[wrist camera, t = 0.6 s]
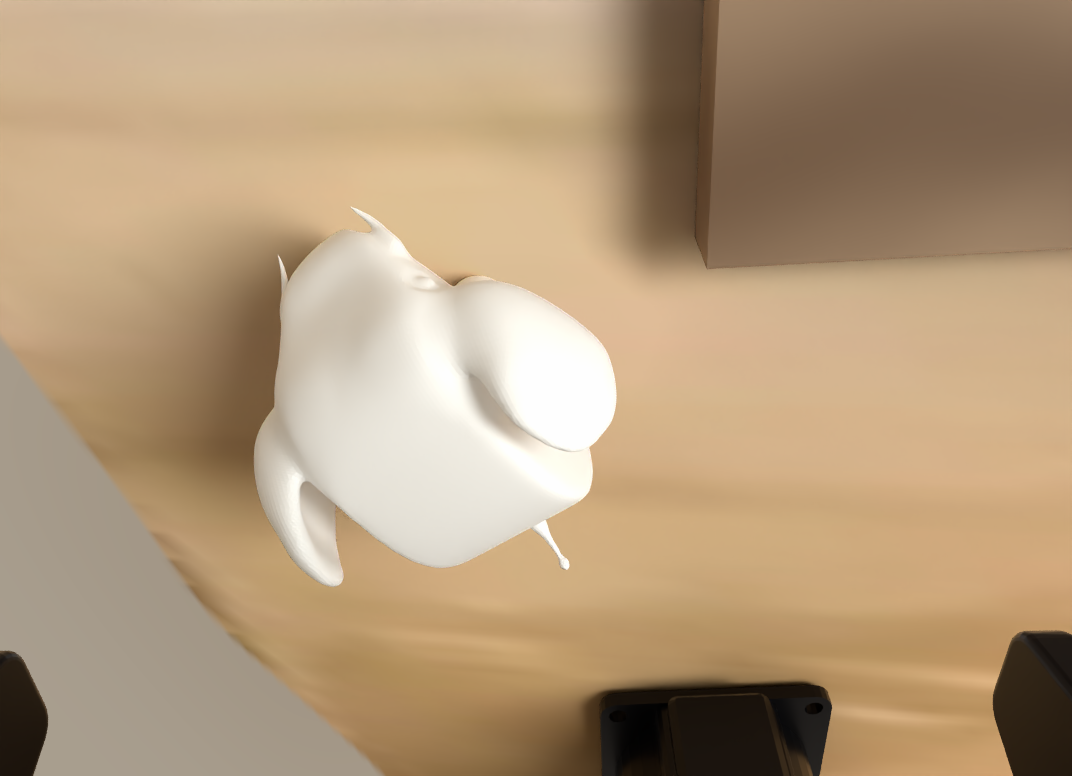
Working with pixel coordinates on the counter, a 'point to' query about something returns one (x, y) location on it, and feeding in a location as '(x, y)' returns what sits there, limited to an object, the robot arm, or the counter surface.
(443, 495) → the elephant figurine
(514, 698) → the counter surface
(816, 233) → the walnut board
